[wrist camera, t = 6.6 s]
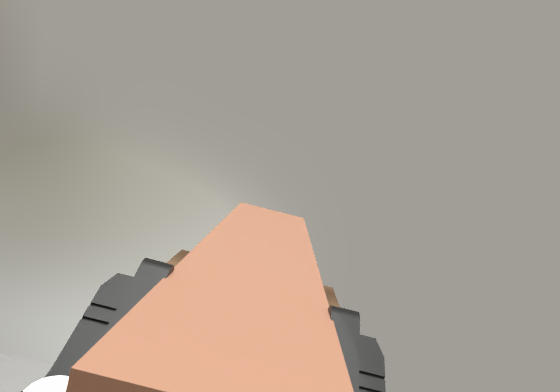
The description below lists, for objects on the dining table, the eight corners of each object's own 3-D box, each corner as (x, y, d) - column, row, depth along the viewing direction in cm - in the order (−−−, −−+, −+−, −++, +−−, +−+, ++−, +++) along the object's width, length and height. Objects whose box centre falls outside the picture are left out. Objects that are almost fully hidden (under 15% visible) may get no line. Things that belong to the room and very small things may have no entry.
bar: (292, 716, 7) (368, 442, 7) (7, 646, 7) (71, 367, 7) (287, 280, 33) (303, 218, 33) (225, 264, 33) (241, 202, 33)
